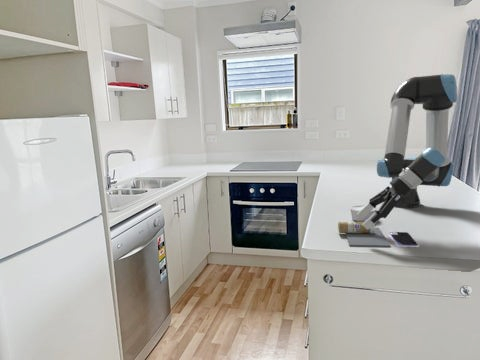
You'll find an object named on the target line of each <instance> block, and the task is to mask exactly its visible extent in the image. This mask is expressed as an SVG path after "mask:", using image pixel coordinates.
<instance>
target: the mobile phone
mask: <svg viewBox="0 0 480 360" xmlns="http://www.w3.org/2000/svg"><path fill="white" fill-rule="evenodd" d="M388 235H389V237H390V238H391V240H392V241H393V243H394V244H395V245H396V246H397V247H399V248H419V247H420V244H419V243H418V242H417V241H416V240H415V239H414V238H413V236H412V235H411V234H410V233H409V232H407V231H405V232H404V231H403V232H402V231H389V232H388Z"/></svg>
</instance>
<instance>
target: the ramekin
mask: <svg viewBox="0 0 480 360" xmlns="http://www.w3.org/2000/svg"><path fill="white" fill-rule="evenodd" d="M365 206H366V205H361V204H360V205H352V206H350V208H349V209H350V215H351V218H352V220H353V221H354V222H365V221H366V220H367V219H369V218H370V217H371V216H372V215H373V214H374V213H375V211H377V207H376V208H374V209H373V210H371V211H370V212H369V213H368V214H367V215H366V216H365V217H364V218H363V219H361V218H360V217H359V216H358V215H357V213H358V212H359V211H361V210H362V209H363V208H364V207H365Z"/></svg>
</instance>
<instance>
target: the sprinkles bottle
mask: <svg viewBox="0 0 480 360" xmlns="http://www.w3.org/2000/svg"><path fill="white" fill-rule="evenodd" d="M363 223H364V222H358V221H347V222H345V221H344V222H343V221H342V222H341V221H339V222H338V224H337V225H338V227H337V229H338V233H339V234H345V233H369V234H374V233H375V228H376V227H375V226H376V225H375V224H374V225H373V226H372V227H371V228H370V229H368V230H367V229H366V228H365V227H364V226H363V225H362V224H363Z"/></svg>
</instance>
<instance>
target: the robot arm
mask: <svg viewBox="0 0 480 360" xmlns="http://www.w3.org/2000/svg"><path fill="white" fill-rule="evenodd" d="M456 80H457V79H456V76H455V75H454V74H450V73H449V74H448V73H447V74H443V73H442V74H432V75H423V76H422V75H421V76H413V77H410V78H408V79H407V80H405V81H403V82H402V83H401V84H400V85H399V86H398V87H397V88H396V90H395V91H394V93H393V94H392V96H391V98H390V99H391V100H390V105H389V106H390V108H391V113H390V120H389V125H388V130H387V131H388V133H387V139H386V145H385V150H384V158H379V159H378V160H377V164H376V173H377V176H378V177H380V178H387V179H390V178H391V181H390V182H389V184H390V186H391V187H390V186H386V188H384V189H383V190H382V191H380V192H378V193H377V194H376V195H375V196H372V197H371V198H370V199H369V202H368V203H367V204H366V205H364V206H365V207H364V208H363V209H362V210H361V211H359V212H358V213H357V215H358V216H359V217H360V218H361V219H363V218H364V217H365V216H366V215H367V214H368V213H369V212H370V211H371V210H373V209H374V208H376V211H375V213H374V214H373V215H372V216H371V217H370V218H369V219H367V220H366V221H365V222H364V223H363V224H362V225H363V226H364V227H365V228H366V229H367V230H368V229H370V228H371V227H372V226H373V225H375V224H376V223H378V222H379V221H380V220H381V219H386V218H387V217H388V216H389V214H390V213H391V212H392V211H393V209H394V208H403V209H408V208H409V209H410V208H417V207H419V206H421V199H420V195H419V193H418V187H419V186H433V187H448V186H450V184H451V182H452V177H453V172H454V167H455V166H454V165H455V163H454V162H453V161H451V158H450V157H449V156H448V137H449V134H448V132H449V113H450V112H449V111H450V109H451V108H453V107H454V103H457V102H458V86H457V81H456ZM415 105H422V109H423V110H424V111H425V112H426V117H425V119H426V120H425V122H426V123H425V127H426V128H425V129H426V130H425V131H426V133H425V150H424V151H421V153H420V154H419V155H418V156H417V157H410V158H405V157H406V156H405V155H406V149H407V142H408V141H407V140H408V136H409V135H408V134H409V126H410V120H411V113H412V110H414V107H415ZM380 204H381V205H380ZM379 205H380V207H379V209H377V206H379Z"/></svg>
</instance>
